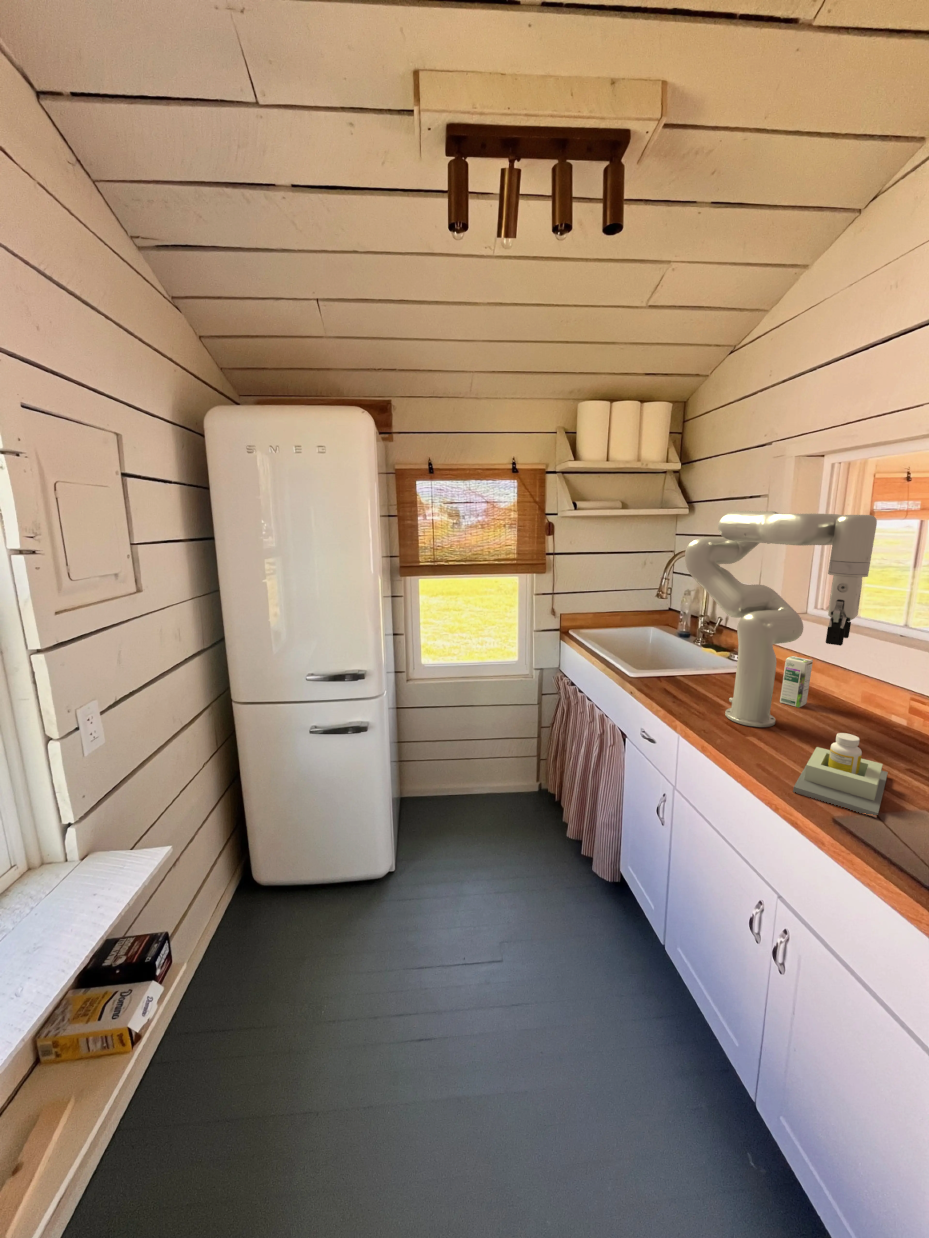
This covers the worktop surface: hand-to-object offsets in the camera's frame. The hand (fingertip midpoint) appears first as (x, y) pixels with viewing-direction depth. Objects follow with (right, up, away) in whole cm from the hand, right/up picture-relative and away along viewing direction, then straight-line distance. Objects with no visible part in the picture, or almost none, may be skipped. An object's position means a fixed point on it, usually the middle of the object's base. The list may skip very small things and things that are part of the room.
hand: (837, 640), depth 121 cm
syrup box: (+14, -21, +38) cm, 45 cm away
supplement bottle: (-6, -30, -10) cm, 32 cm away
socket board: (-7, -31, -10) cm, 33 cm away
